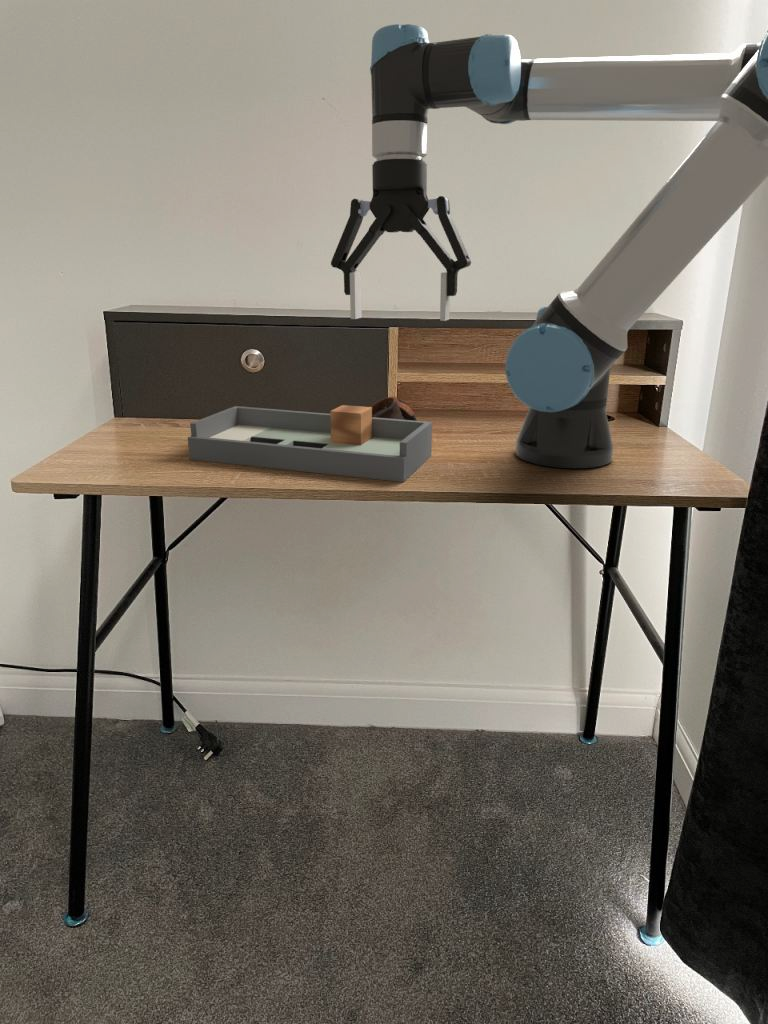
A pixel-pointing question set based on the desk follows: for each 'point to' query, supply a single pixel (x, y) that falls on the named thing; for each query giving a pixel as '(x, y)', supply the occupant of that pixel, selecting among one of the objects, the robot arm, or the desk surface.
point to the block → (351, 425)
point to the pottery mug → (393, 409)
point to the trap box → (309, 443)
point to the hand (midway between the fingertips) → (399, 319)
